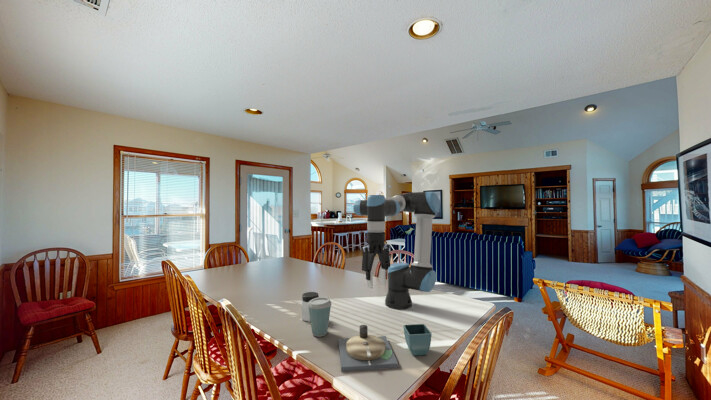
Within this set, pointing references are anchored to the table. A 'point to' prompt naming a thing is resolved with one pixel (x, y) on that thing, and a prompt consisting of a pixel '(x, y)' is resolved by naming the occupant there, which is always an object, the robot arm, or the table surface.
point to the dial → (365, 345)
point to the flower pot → (417, 338)
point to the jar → (305, 299)
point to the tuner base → (356, 364)
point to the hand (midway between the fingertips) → (376, 285)
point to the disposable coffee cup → (319, 315)
